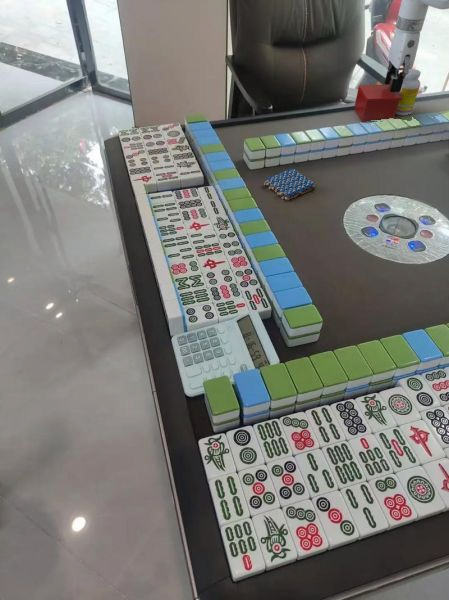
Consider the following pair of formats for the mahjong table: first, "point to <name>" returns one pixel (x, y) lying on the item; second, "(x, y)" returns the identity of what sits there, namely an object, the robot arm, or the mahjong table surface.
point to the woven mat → (289, 184)
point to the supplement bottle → (408, 92)
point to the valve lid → (380, 92)
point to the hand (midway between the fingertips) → (392, 87)
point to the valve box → (374, 108)
